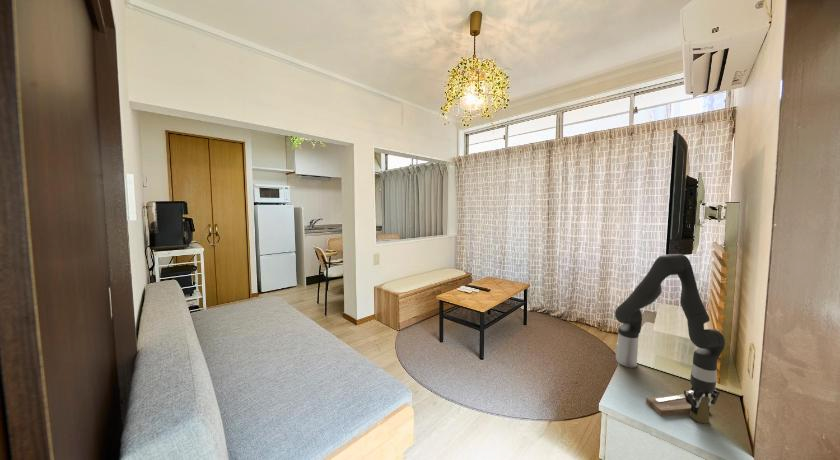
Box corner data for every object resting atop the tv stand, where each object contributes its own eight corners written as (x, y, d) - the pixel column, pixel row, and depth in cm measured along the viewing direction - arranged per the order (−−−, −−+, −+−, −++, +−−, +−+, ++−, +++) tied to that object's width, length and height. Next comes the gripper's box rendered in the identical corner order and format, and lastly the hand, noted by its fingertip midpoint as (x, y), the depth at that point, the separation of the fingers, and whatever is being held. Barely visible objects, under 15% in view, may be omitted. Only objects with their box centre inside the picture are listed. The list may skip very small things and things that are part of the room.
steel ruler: (655, 399, 131) (655, 398, 131) (682, 395, 132) (682, 394, 132) (658, 402, 129) (659, 401, 129) (686, 398, 131) (686, 397, 131)
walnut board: (645, 402, 133) (646, 397, 132) (691, 398, 134) (691, 393, 133) (661, 415, 125) (661, 410, 124) (709, 411, 126) (709, 406, 125)
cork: (689, 417, 122) (691, 394, 120) (689, 409, 126) (692, 386, 125) (709, 425, 118) (711, 401, 116) (709, 417, 122) (711, 393, 120)
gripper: (709, 368, 123) (706, 404, 126) (678, 371, 122) (675, 407, 125) (729, 380, 116) (725, 418, 118) (696, 383, 115) (692, 421, 117)
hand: (699, 412), depth 122 cm, fingers closed on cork, 4 cm apart
